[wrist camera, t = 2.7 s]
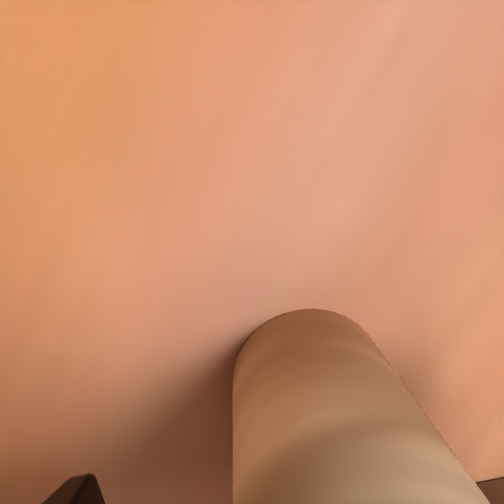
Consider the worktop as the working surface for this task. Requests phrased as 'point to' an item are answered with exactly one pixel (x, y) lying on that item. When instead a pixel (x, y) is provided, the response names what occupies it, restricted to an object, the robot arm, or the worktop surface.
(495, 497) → the bore block
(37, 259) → the worktop surface
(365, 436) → the pin
